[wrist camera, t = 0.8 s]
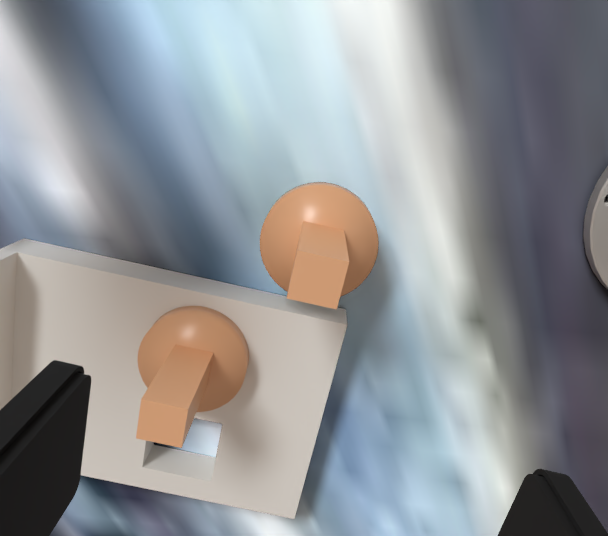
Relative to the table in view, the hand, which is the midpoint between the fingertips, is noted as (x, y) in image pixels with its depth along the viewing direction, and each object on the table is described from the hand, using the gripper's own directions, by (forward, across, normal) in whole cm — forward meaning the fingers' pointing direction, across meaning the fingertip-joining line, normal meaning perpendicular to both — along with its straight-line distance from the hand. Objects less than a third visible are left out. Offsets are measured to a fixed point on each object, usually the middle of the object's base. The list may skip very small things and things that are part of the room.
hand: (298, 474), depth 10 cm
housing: (+23, +7, +13) cm, 27 cm away
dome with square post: (+23, 0, 0) cm, 23 cm away
